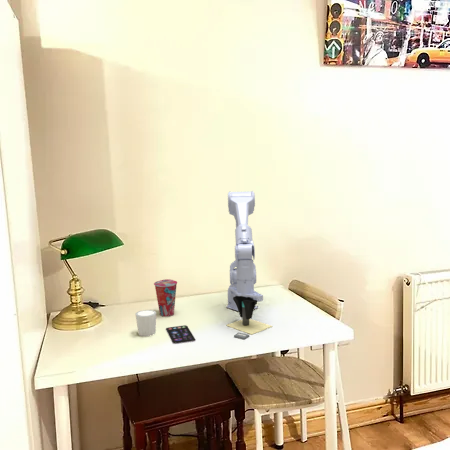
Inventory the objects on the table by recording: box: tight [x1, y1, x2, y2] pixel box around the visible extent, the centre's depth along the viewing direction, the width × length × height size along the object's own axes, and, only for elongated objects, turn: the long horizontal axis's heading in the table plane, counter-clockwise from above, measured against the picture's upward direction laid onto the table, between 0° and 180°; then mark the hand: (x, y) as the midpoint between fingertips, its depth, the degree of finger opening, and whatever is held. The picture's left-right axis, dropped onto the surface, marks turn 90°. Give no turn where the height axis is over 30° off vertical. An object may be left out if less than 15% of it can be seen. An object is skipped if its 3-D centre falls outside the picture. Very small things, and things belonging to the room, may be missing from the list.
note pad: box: [226, 318, 273, 336], centre depth 172 cm, size 12×10×1 cm
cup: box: [153, 278, 178, 318], centre depth 185 cm, size 9×8×12 cm
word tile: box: [233, 332, 250, 340], centre depth 162 cm, size 4×3×1 cm
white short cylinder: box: [135, 309, 157, 337], centre depth 167 cm, size 7×7×7 cm
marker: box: [241, 301, 249, 326], centre depth 172 cm, size 3×3×8 cm
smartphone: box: [165, 324, 197, 345], centre depth 166 cm, size 8×1×15 cm
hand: (245, 317), depth 172 cm, fingers closed on marker, 2 cm apart
